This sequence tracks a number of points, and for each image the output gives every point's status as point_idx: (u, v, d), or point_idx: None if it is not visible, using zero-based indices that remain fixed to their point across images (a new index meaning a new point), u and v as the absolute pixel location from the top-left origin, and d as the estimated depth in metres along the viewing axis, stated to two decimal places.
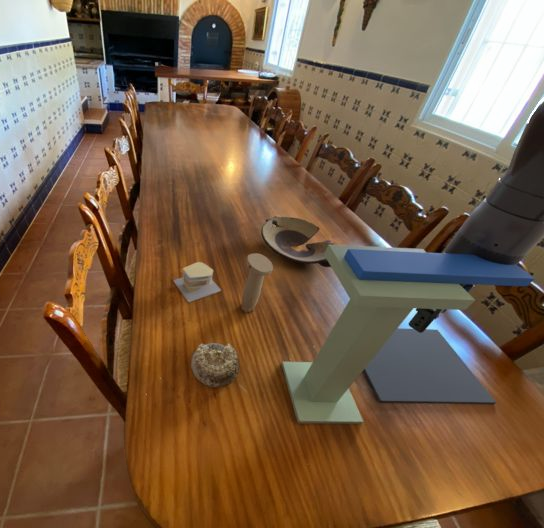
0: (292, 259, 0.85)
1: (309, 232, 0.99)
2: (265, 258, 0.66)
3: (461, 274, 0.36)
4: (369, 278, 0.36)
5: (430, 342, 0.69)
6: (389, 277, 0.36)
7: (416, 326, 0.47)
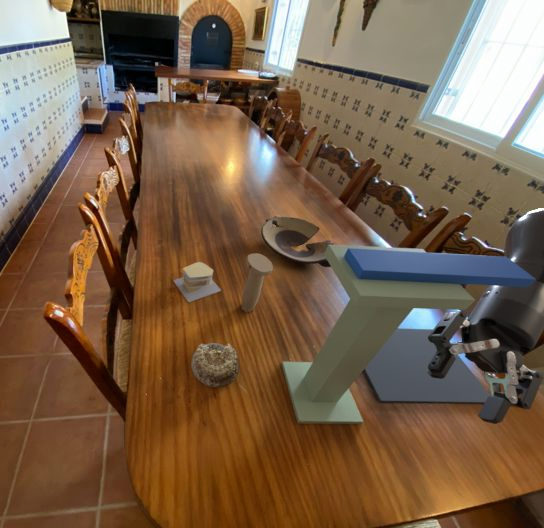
0: (292, 259, 0.85)
1: (309, 232, 0.99)
2: (265, 258, 0.66)
3: (462, 274, 0.36)
4: (369, 277, 0.36)
5: (430, 342, 0.69)
6: (389, 276, 0.36)
7: (433, 365, 0.42)
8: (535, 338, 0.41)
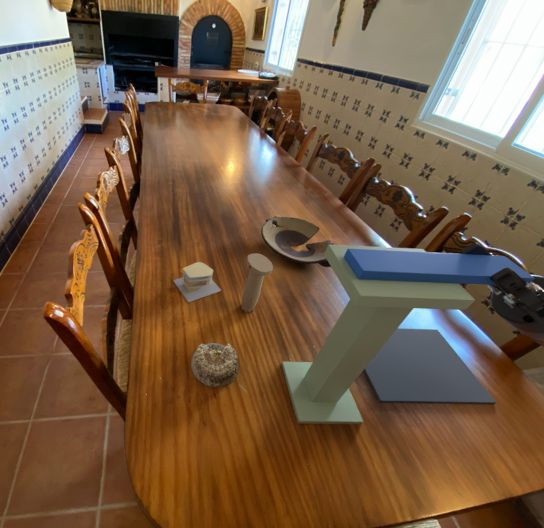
0: (292, 259, 0.85)
1: (309, 232, 0.99)
2: (265, 258, 0.66)
3: (461, 273, 0.36)
4: (369, 278, 0.36)
5: (430, 342, 0.69)
6: (389, 277, 0.36)
7: None
8: None
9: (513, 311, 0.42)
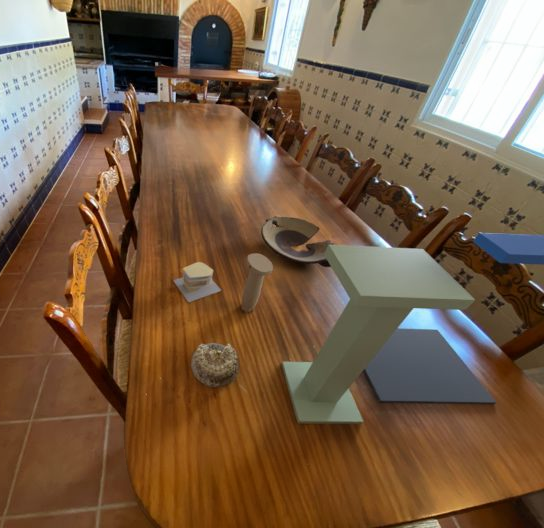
0: (292, 259, 0.85)
1: (309, 232, 0.99)
2: (265, 258, 0.66)
3: None
4: (511, 261, 0.35)
5: (430, 342, 0.69)
6: (532, 260, 0.35)
7: None
8: None
9: None
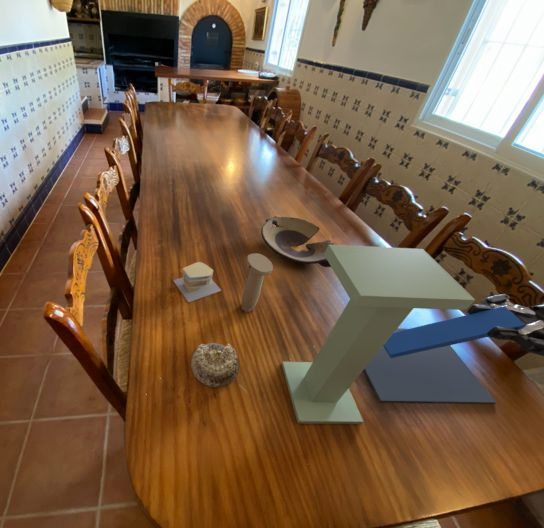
0: (292, 259, 0.85)
1: (309, 232, 0.99)
2: (265, 258, 0.66)
3: (463, 337, 0.55)
4: (397, 356, 0.58)
5: None
6: (410, 352, 0.57)
7: None
8: None
9: None
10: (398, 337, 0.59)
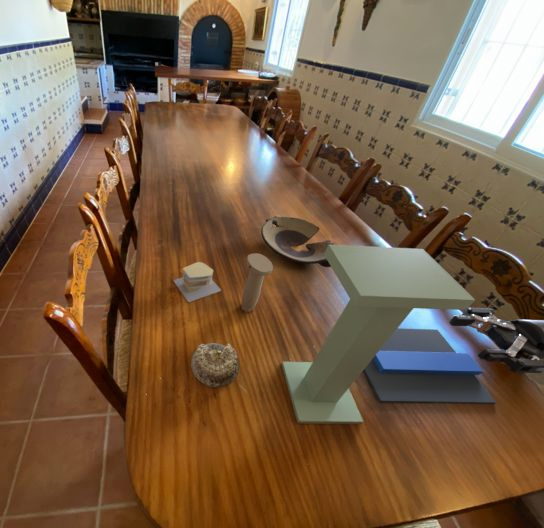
0: (292, 259, 0.85)
1: (309, 232, 0.99)
2: (265, 258, 0.66)
3: (440, 369, 0.62)
4: (386, 372, 0.62)
5: (430, 342, 0.69)
6: (398, 371, 0.62)
7: None
8: None
9: None
10: (389, 356, 0.64)
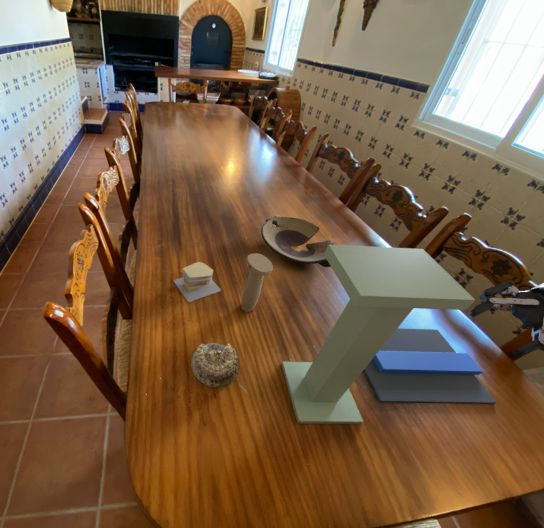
0: (292, 259, 0.85)
1: (309, 232, 0.99)
2: (265, 258, 0.66)
3: (440, 369, 0.62)
4: (386, 372, 0.62)
5: (430, 342, 0.69)
6: (398, 371, 0.62)
7: (473, 308, 0.60)
8: None
9: None
10: (389, 356, 0.64)
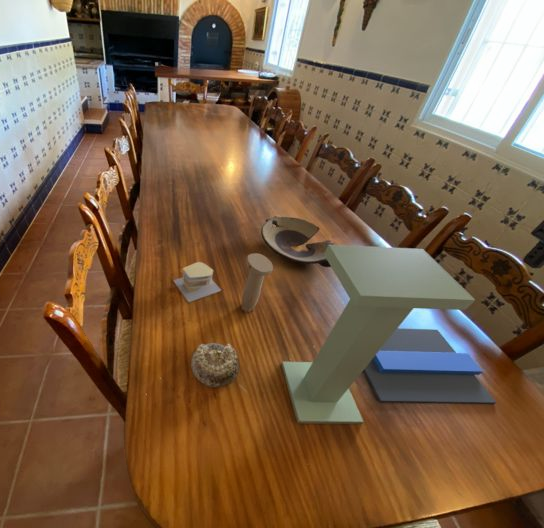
0: (292, 259, 0.85)
1: (309, 232, 0.99)
2: (265, 258, 0.66)
3: (440, 369, 0.62)
4: (386, 372, 0.62)
5: (430, 342, 0.69)
6: (398, 371, 0.62)
7: (530, 259, 0.44)
8: None
9: None
10: (389, 356, 0.64)
